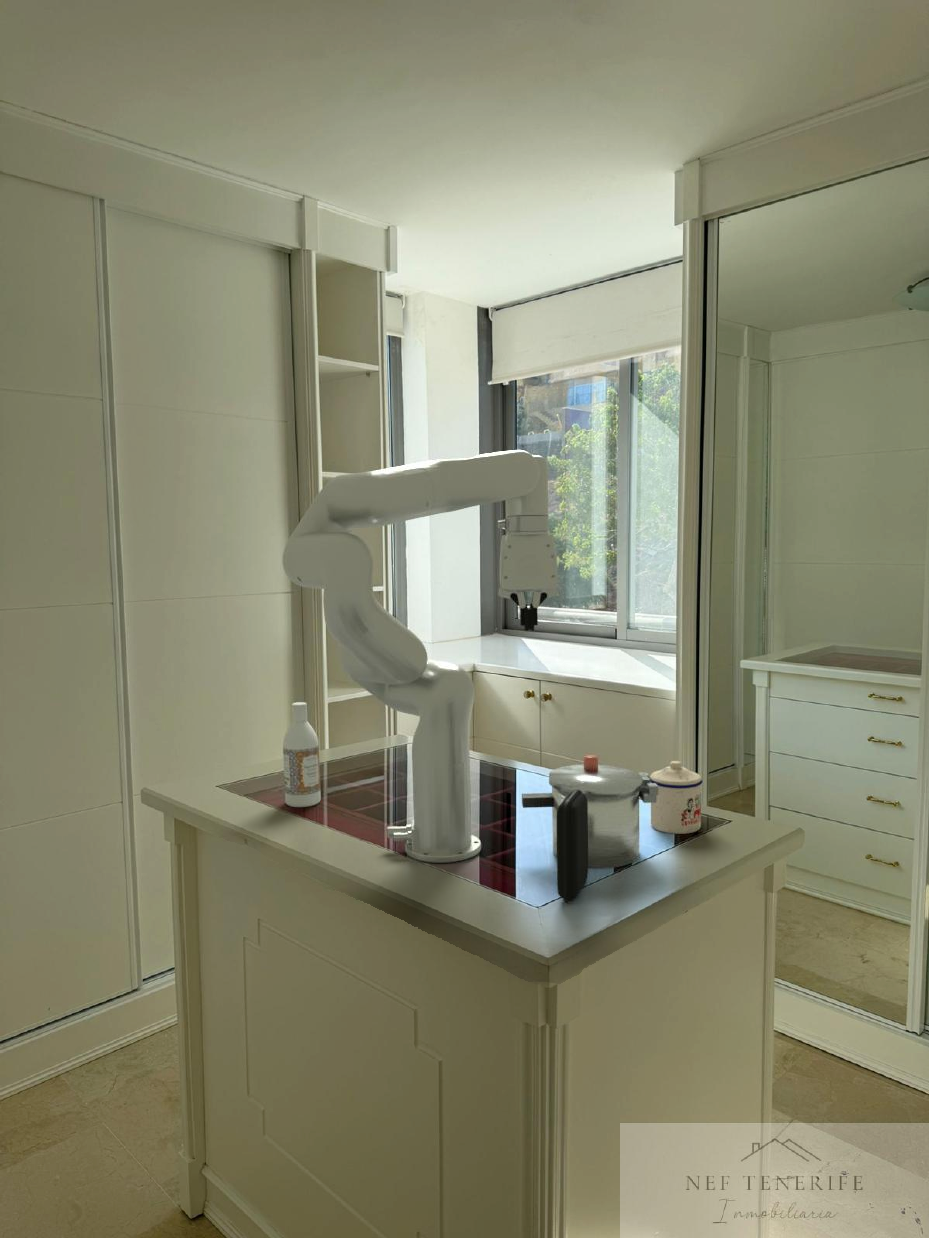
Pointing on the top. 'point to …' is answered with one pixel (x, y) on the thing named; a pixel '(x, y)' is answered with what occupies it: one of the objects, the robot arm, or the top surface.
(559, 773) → the lid
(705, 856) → the top surface
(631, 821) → the cooker pot
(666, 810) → the teacup with lid
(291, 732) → the bath foam
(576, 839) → the carrying case or bag
